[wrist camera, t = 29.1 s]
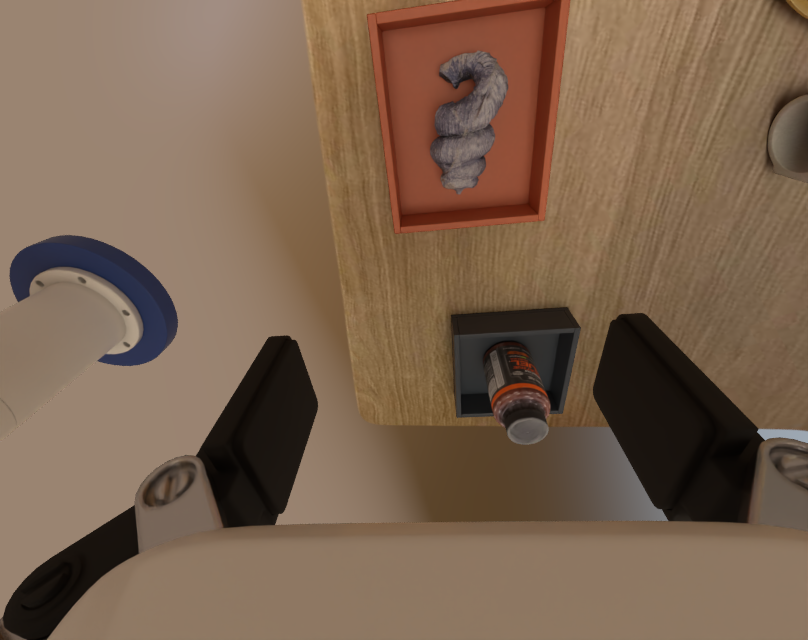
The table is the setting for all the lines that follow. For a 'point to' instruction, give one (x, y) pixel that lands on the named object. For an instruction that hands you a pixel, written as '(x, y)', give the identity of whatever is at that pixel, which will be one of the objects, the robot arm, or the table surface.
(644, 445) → the robot arm
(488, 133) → the grey curved ribbed piece
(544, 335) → the slate bin
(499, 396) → the supplement bottle
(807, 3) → the serving platter
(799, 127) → the long tapered cone
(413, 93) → the terracotta bin
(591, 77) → the table surface
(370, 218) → the table surface
